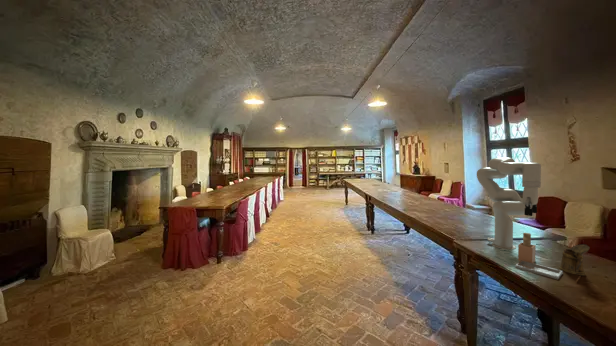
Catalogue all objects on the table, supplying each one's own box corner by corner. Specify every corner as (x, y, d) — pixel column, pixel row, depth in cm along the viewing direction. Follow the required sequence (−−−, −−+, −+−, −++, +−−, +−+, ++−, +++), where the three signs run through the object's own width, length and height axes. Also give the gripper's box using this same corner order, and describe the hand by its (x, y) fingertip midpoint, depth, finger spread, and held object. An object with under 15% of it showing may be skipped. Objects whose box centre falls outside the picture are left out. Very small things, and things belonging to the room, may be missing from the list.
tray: (515, 268, 125) (515, 264, 125) (521, 264, 130) (521, 260, 130) (558, 281, 111) (558, 276, 111) (562, 275, 117) (562, 270, 117)
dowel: (522, 260, 133) (522, 233, 132) (523, 259, 135) (524, 232, 134) (529, 262, 130) (529, 234, 129) (531, 260, 132) (531, 233, 131)
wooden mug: (570, 278, 114) (570, 242, 113) (555, 266, 126) (555, 234, 125) (595, 281, 110) (596, 245, 109) (578, 269, 122) (578, 236, 121)
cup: (518, 261, 133) (518, 244, 133) (521, 259, 137) (521, 242, 136) (532, 265, 128) (532, 247, 128) (535, 262, 131) (535, 245, 131)
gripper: (526, 182, 138) (526, 210, 138) (518, 185, 128) (517, 215, 129) (544, 183, 131) (543, 212, 132) (536, 186, 122) (536, 217, 122)
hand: (530, 214), depth 130 cm, fingers open, 9 cm apart
